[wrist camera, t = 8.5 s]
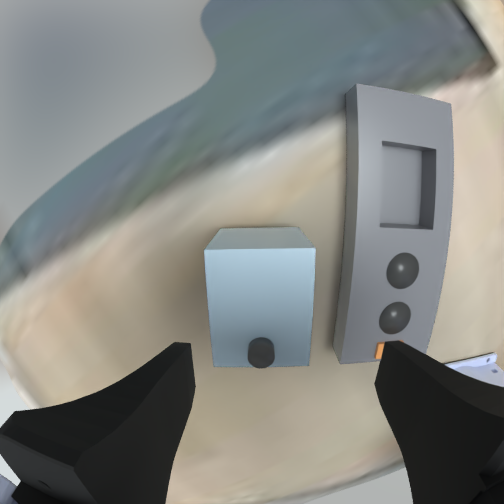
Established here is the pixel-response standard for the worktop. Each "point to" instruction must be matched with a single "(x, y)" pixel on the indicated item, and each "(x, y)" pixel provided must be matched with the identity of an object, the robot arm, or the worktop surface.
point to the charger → (260, 296)
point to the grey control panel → (393, 220)
